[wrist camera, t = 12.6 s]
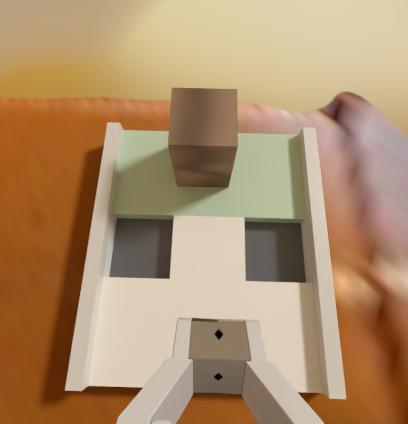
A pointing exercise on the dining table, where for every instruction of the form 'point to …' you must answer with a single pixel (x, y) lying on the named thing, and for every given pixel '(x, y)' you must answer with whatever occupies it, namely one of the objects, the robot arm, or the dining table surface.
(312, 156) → the board
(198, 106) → the walnut block
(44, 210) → the dining table surface
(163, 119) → the dining table surface
